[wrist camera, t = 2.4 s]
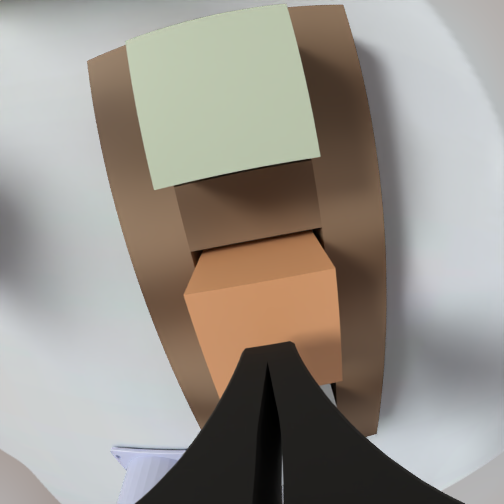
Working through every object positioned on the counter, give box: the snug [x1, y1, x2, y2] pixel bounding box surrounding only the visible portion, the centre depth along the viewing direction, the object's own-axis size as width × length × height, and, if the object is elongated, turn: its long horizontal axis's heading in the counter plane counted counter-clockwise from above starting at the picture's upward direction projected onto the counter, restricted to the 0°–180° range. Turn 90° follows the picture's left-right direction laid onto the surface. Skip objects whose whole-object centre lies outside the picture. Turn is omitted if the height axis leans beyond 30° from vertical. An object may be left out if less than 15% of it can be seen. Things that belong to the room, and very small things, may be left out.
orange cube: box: [184, 230, 343, 399], centre depth 11 cm, size 4×4×4 cm
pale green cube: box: [125, 4, 320, 190], centre depth 9 cm, size 4×4×4 cm
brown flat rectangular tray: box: [87, 5, 386, 437], centre depth 14 cm, size 22×10×2 cm, turn 11°
